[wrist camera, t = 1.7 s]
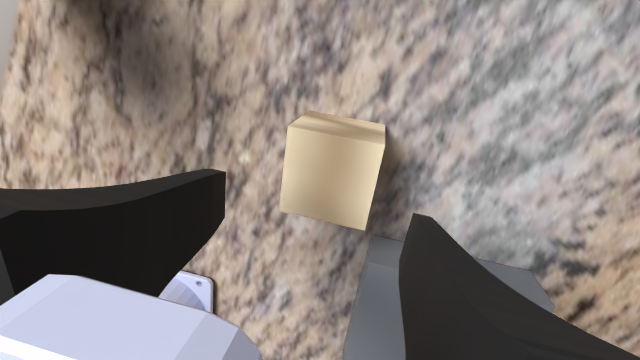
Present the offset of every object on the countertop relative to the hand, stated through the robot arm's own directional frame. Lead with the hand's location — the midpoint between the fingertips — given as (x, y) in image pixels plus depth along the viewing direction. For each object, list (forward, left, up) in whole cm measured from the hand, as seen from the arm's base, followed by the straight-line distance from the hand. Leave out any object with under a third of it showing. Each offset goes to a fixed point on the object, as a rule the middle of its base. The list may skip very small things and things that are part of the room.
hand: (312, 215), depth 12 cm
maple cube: (0, 0, -8) cm, 8 cm away
